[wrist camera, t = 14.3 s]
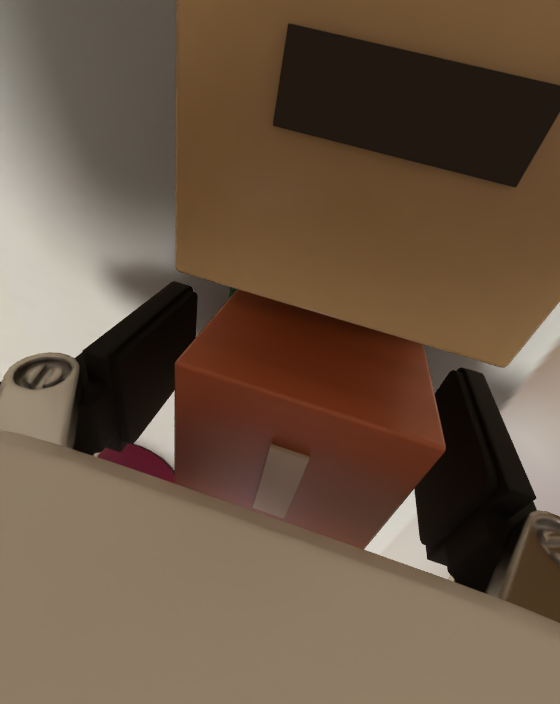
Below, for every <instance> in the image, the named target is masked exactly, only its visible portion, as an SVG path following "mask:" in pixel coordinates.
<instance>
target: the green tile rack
mask: <svg viewBox="0 0 560 704" xmlns="http://www.w3.org/2000/svg"><path fill="white" fill-rule="evenodd" d="M176 270H177V271H179V272H182V273H185V274H189V275H192V276H195V277H199V278H202V279H205V280H209V281H212V282H215V283H219V284H222V285H226V286H229V287H231V288H230V297H231V296H232V295H233V293H234V292H235V291H236V290H237V289H239V290H242V291H246V292H249V293H252V294H256V295H259V296H263V297H266V298H269V299H273V300H276V301H279V302H283V303H286V304H289V305H293V306H296V307H300V308H303V309H306V310H310V311H313V312H316V313H320V314H323V315H326V316H330V317H333V318H336V319H340V320H343V321H347V322H350V323H353V324H357V325H360V326H363V327H367V328H370V329H373V330H377V331H380V332H384V333H387V334H390V335H394V336H397V337H400V338H404V339H407V340H410V341H414V342H417V343H421V344H424V345H427V346H431V347H434V348H437V349H441V350H444V351H447V352H451V353H454V354H457V355H461V356H464V357H468V358H471V359H474V360H478V361H481V362H484V363H488V364H491V365H494V366H498V367H506V366H508V365H509V363H510V362H511V361H512V360H513V358H514V357H515V356H516V355H517V353H518V352H519V351H520V350H521V349H522V347H523V346H524V345H525V344H526V342H527V341H528V340H529V339H530V337H531V336H532V335H533V334H534V332H535V331H536V330H537V329H538V327H539V326H540V325H541V324H542V323H543V321H544V320H545V319H546V318H547V316H548V315H549V314H550V313H551V311H552V310H553V309H554V308H555V306H556V305H557V304H558V303H559V302H560V0H177V7H176ZM230 297H229V298H230Z"/></svg>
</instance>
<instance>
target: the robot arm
mask: <svg viewBox="0 0 560 704" xmlns="http://www.w3.org/2000/svg"><path fill="white" fill-rule="evenodd" d="M197 300H198V295H197V293H196V292H193V288H192V287H191V286H189V285H185V284H182V283H179V282H175V281H173V282H171V283H170V284H169V285H167V286H166V287H165V288H163V289H162V290H161V291H159V292H158V293H157V294H156V295H154V296H153V297H152V298H150V299H149V300H148V301H147V302H145V303H144V304H143V305H141V306H140V307H139V308H137V309H136V310H135V311H134V312H132V313H131V314H130V315H128V316H127V317H126V318H124V319H123V320H122V321H121V322H119V323H118V324H117V325H115V326H114V327H113V328H111V329H110V330H109V331H108V332H106V333H105V334H104V335H102V336H101V337H100V338H99V339H97V340H96V341H95V342H93V343H92V344H91V345H89V346H88V347H87V348H86V349H84V350H83V352H82V353H81V354H80V355H78V356H77V357H76V358H73V357H71V356H69V355H66V354H62V353H41V354H36V355H33V356H29V357H26V358H24V359H22V360H20V361H18V362H16V363H15V364H14V365H12V366H11V367H10V368H9V369H8V371H7V372H6V374H5V375H4V378H3V380H2V382H0V704H560V517H559V516H557V515H555V514H552V513H549V512H546V511H537V509H536V507H535V505H534V502H533V500H535V499H536V496H535V494H534V491H533V489H532V487H531V485H530V482H529V480H528V478H527V475H526V473H525V470H524V468H523V466H522V464H521V461H520V459H519V456H518V454H517V452H516V449H515V447H514V445H513V442H512V440H511V438H510V436H509V433H508V431H507V429H506V426H505V424H504V422H503V419H502V417H501V415H500V412H499V410H498V408H497V405H496V403H495V401H494V398H493V396H492V394H491V391H490V389H489V387H488V384H487V382H486V380H485V377H484V375H483V374H482V373H479V372H475V371H472V370H469V369H465V368H459V369H458V370H457V371H455V370H452V371H450V373H449V374H448V375H447V377H446V378H445V380H444V381H443V383H442V384H441V386H440V387H439V388H438V390H437V391H436V393H435V399H436V404H437V408H438V413H439V417H440V422H441V427H442V431H443V436H444V440H445V445H446V449H445V452H444V453H443V455H442V456H441V457H440V458H439V459H438V461H437V462H436V463H435V464H434V465H433V467H432V468H431V469H430V470H429V471H428V473H427V474H426V475H425V476H424V477H423V479H422V480H421V481H420V482H419V483H418V485H417V486H416V487H415V497H416V507H417V516H418V526H419V535H420V540H421V543H422V544H424V545H426V552H427V559H428V560H431V561H434V562H437V563H440V564H442V565H445V566H447V569H448V572H449V573H450V577H449V579H448V580H447V579H444V578H442V577H439V576H436V575H433V574H431V573H428V572H425V571H422V570H419V569H417V568H414V567H411V566H408V565H405V564H403V563H399V562H397V561H394V560H391V559H388V558H385V557H383V556H380V555H377V554H374V553H372V552H369V551H366V550H363V549H360V548H358V547H355V546H352V545H349V544H346V543H343V542H341V541H338V540H335V539H332V538H329V537H326V536H324V535H321V534H318V533H315V532H312V531H309V530H306V529H304V528H301V527H298V526H295V525H292V524H289V523H286V522H284V521H281V520H278V519H275V518H272V517H269V516H266V515H264V514H261V513H258V512H255V511H252V510H249V509H246V508H244V507H241V506H238V505H235V504H232V503H229V502H226V501H224V500H221V499H218V498H215V497H212V496H209V495H206V494H203V493H200V492H198V491H195V490H192V489H189V488H186V487H183V486H180V485H177V484H174V483H171V482H168V481H166V480H163V479H160V478H157V477H154V476H151V475H148V474H145V473H142V472H139V471H137V470H134V469H131V468H128V467H125V466H122V465H119V464H116V463H113V462H110V461H107V460H104V459H101V458H98V453H99V452H102V451H103V450H104V449H105V448H108V449H111V450H114V451H117V452H120V453H121V452H122V450H123V449H124V448H125V447H126V445H127V444H128V443H130V444H133V443H134V442H135V441H136V440H137V439H138V438H139V436H140V435H141V434H142V432H143V431H144V430H145V428H146V427H147V426H148V424H149V423H150V422H151V421H152V419H153V418H154V417H155V415H156V414H157V413H158V411H159V410H160V409H161V407H162V406H163V405H164V403H165V402H166V401H167V399H168V398H169V397H170V396H171V394H172V393H173V392H174V390H175V362H176V361H177V359H178V358H179V357H180V356H181V355H182V354H183V352H184V351H185V350H186V349H187V348H188V346H189V345H190V344H191V343H192V342H193V341H194V339H195V338H196V320H197Z"/></svg>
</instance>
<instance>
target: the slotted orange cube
mask: <svg viewBox="0 0 560 704" xmlns="http://www.w3.org/2000/svg"><path fill="white" fill-rule="evenodd" d="M445 449H446V445H445V440H444V436H443V431H442V427H441V422H440V417H439V413H438V408H437V404H436V399H435V394H434V390H433V385H432V381H431V376H430V371H429V367H428V362H427V358H426V353H425V348H424V344H421V343H417V342H414V341H410V340H407V339H404V338H400V337H397V336H394V335H390V334H387V333H384V332H380V331H377V330H373V329H370V328H367V327H363V326H360V325H357V324H353V323H350V322H347V321H343V320H340V319H336V318H333V317H330V316H326V315H323V314H320V313H316V312H313V311H310V310H306V309H303V308H300V307H296V306H293V305H289V304H286V303H283V302H279V301H276V300H273V299H269V298H266V297H263V296H259V295H256V294H252V293H249V292H246V291H242V290H239V289H237V290H236V291H235V292H234V293H233V295H232V296H231V297H230V298H229V299H228V300H227V302H226V303H225V304H224V305H223V306H222V308H221V309H220V310H219V311H218V312H217V313H216V315H215V316H214V317H213V318H212V319H211V320H210V322H209V323H208V324H207V325H206V326H205V328H204V329H203V330H202V331H201V332H200V333H199V335H198V336H197V337H196V338H195V339H194V341H193V342H192V343H191V344H190V345H189V346H188V348H187V349H186V350H185V351H184V352H183V354H182V355H181V356H180V357H179V358H178V359H177V361H176V362H175V476H174V484H177V485H180V486H183V487H186V488H189V489H192V490H195V491H198V492H200V493H203V494H206V495H209V496H212V497H215V498H218V499H221V500H224V501H226V502H229V503H232V504H235V505H238V506H241V507H244V508H246V509H249V510H252V511H255V512H258V513H261V514H264V515H266V516H269V517H272V518H275V519H278V520H281V521H284V522H286V523H289V524H292V525H295V526H298V527H301V528H304V529H306V530H309V531H312V532H315V533H318V534H321V535H324V536H326V537H329V538H332V539H335V540H338V541H341V542H343V543H346V544H349V545H352V546H355V547H358V548H360V549H363V550H364V549H365V547H366V546H367V545H368V544H369V543H370V541H371V540H372V539H373V538H374V537H375V535H376V534H377V533H378V532H379V530H380V529H381V528H382V527H383V526H384V524H385V523H386V522H387V521H388V520H389V518H390V517H391V516H392V515H393V514H394V512H395V511H396V510H397V509H398V508H399V506H400V505H401V504H402V503H403V502H404V500H405V499H406V498H407V497H408V496H409V494H410V493H411V492H412V491H413V489H414V488H415V487H416V486H417V485H418V483H419V482H420V481H421V480H422V479H423V477H424V476H425V475H426V474H427V473H428V471H429V470H430V469H431V468H432V467H433V465H434V464H435V463H436V462H437V461H438V459H439V458H440V457H441V456H442V455H443V453H444V452H445Z"/></svg>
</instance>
